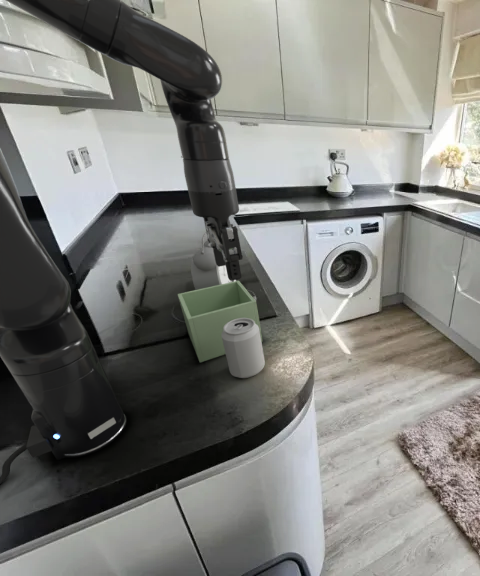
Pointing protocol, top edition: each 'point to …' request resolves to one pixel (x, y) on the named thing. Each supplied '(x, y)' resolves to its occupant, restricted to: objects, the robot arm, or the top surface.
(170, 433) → the top surface
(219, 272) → the alarm clock
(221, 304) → the bin
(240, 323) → the can
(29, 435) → the robot arm
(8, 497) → the top surface
